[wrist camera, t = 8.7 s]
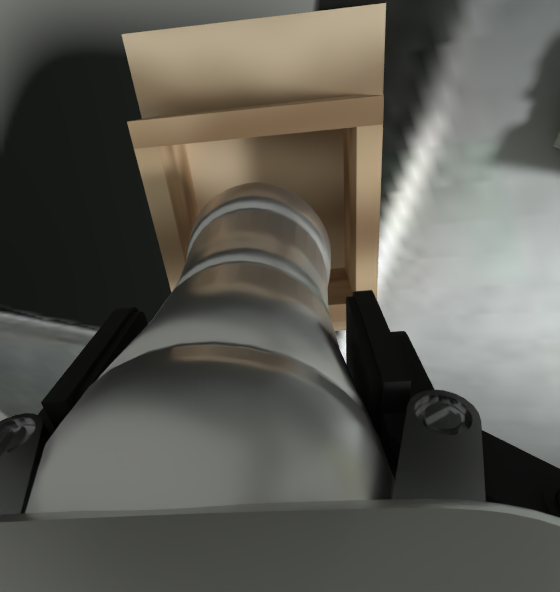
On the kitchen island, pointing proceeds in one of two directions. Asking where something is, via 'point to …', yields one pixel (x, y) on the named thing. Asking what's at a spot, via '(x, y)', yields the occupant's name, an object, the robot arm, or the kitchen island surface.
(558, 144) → the grey rocky tray
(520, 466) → the robot arm
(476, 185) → the kitchen island surface
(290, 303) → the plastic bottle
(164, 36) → the tan wooden box
